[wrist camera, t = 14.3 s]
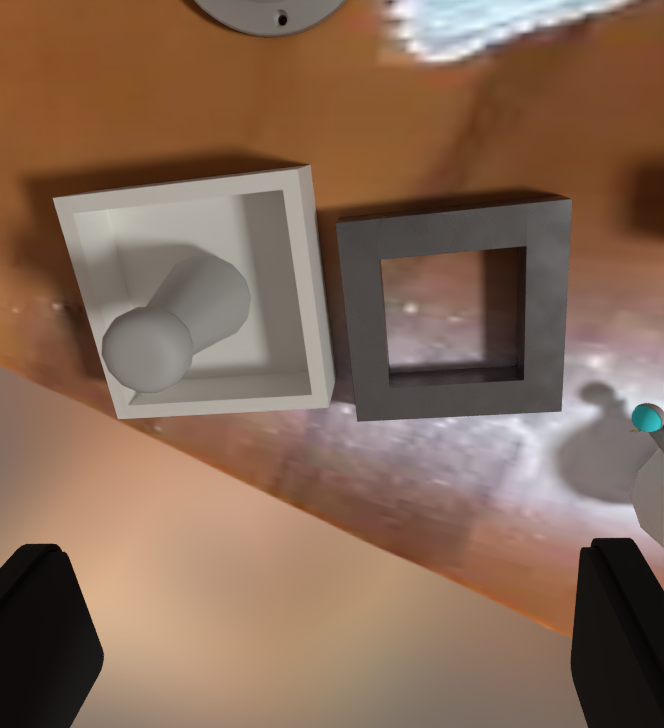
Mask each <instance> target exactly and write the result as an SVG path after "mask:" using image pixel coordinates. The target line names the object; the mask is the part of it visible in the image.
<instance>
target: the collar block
mask: <svg viewBox="0 0 664 728" xmlns="http://www.w3.org/2000/svg"><path fill="white" fill-rule="evenodd" d="M571 209H572V199H570V198H568V197H565V196H562V195H554V196H544V197H535V198H525V199H516V200H506V201H496V202H487V203H477V204H468V205H458V206H448V207H439V208H429V209H420V210H410V211H400V212H391V213H381V214H372V215H362V216H352V217H343V218H339V219H338V221H337V222H336V232H337V241H338V250H339V259H340V268H341V277H342V287H343V296H344V305H345V314H346V323H347V332H348V341H349V350H350V359H351V368H352V378H353V387H354V396H355V405H356V414H357V422H359V421H379V420H399V419H419V418H439V417H459V416H479V415H499V414H519V413H540V412H560V411H561V410H562V390H563V370H564V350H565V330H566V310H567V290H568V270H569V249H570V229H571ZM510 247H518V291H517V361H516V366H506V367H489V368H473V369H457V370H441V371H425V372H409V373H392V374H390V368H389V356H388V344H387V331H386V319H385V307H384V294H383V282H382V270H381V259H391V258H402V257H412V256H423V255H434V254H445V253H456V252H467V251H478V250H488V249H499V248H510Z"/></svg>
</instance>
